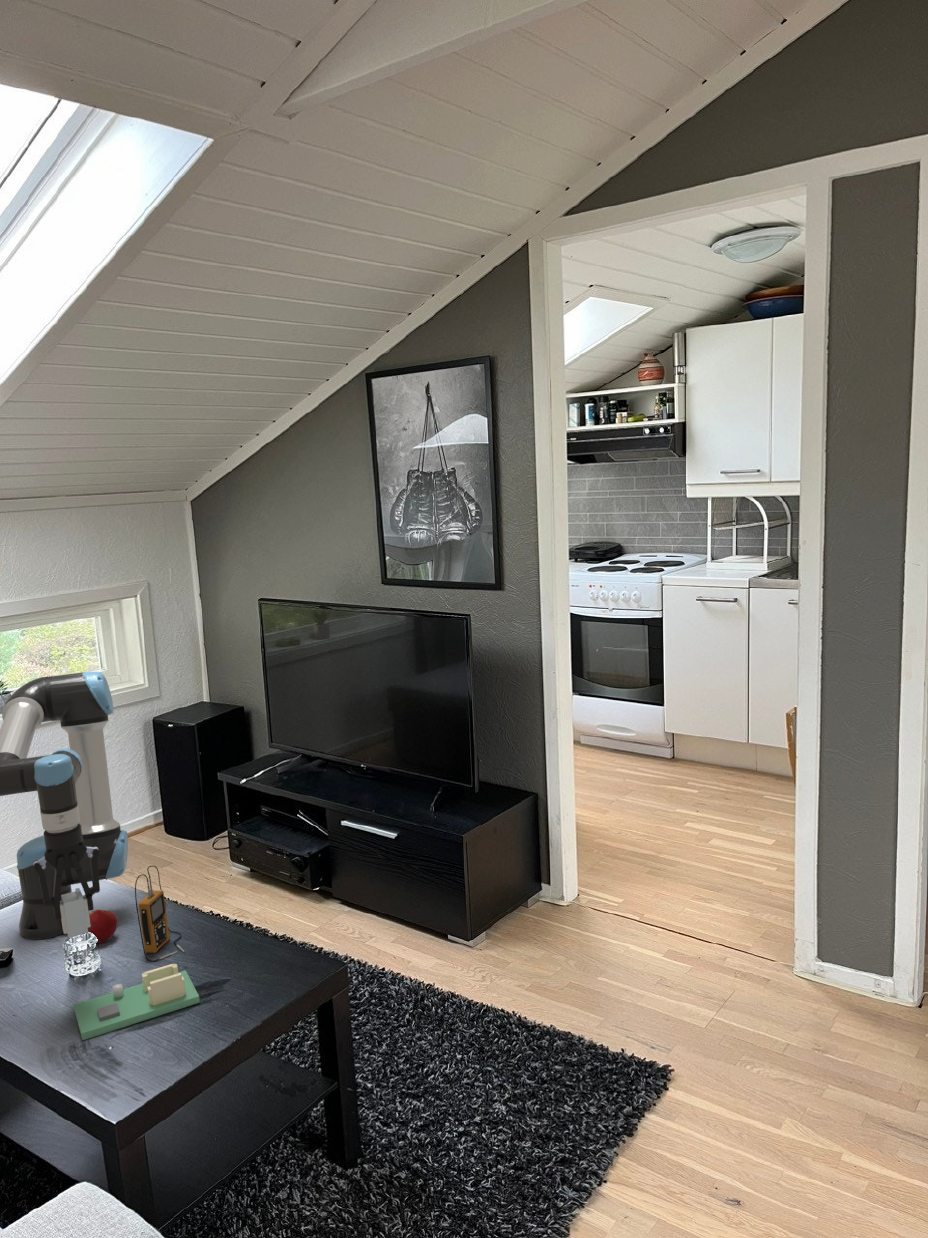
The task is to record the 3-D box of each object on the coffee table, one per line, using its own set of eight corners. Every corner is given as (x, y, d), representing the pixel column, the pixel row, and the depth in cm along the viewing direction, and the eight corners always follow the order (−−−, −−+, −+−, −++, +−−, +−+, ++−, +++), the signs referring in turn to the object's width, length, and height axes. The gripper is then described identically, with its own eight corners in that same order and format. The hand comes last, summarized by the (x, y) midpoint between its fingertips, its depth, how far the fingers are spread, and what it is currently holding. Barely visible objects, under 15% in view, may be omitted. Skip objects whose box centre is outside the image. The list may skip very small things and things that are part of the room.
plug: (66, 929, 211) (60, 892, 210) (85, 923, 213) (80, 887, 212) (68, 938, 207) (63, 900, 205) (88, 932, 209) (83, 895, 207)
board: (74, 1011, 207) (70, 983, 206) (186, 976, 218) (183, 950, 217) (82, 1040, 196) (78, 1011, 195) (199, 1002, 207) (196, 974, 206)
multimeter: (175, 963, 225) (164, 883, 221) (136, 962, 227) (125, 882, 223) (203, 933, 239) (194, 857, 236) (167, 931, 241) (157, 856, 238)
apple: (115, 946, 235) (111, 915, 234) (81, 950, 234) (77, 920, 233) (122, 931, 243) (117, 901, 241) (88, 935, 242) (84, 906, 240)
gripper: (20, 842, 199) (36, 946, 203) (106, 822, 207) (120, 923, 211) (17, 831, 205) (33, 932, 209) (101, 812, 213) (114, 910, 217)
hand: (76, 927), depth 210 cm, fingers closed on plug, 4 cm apart
